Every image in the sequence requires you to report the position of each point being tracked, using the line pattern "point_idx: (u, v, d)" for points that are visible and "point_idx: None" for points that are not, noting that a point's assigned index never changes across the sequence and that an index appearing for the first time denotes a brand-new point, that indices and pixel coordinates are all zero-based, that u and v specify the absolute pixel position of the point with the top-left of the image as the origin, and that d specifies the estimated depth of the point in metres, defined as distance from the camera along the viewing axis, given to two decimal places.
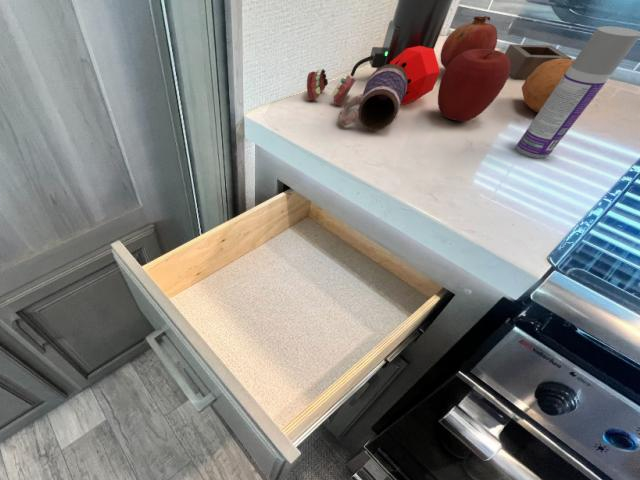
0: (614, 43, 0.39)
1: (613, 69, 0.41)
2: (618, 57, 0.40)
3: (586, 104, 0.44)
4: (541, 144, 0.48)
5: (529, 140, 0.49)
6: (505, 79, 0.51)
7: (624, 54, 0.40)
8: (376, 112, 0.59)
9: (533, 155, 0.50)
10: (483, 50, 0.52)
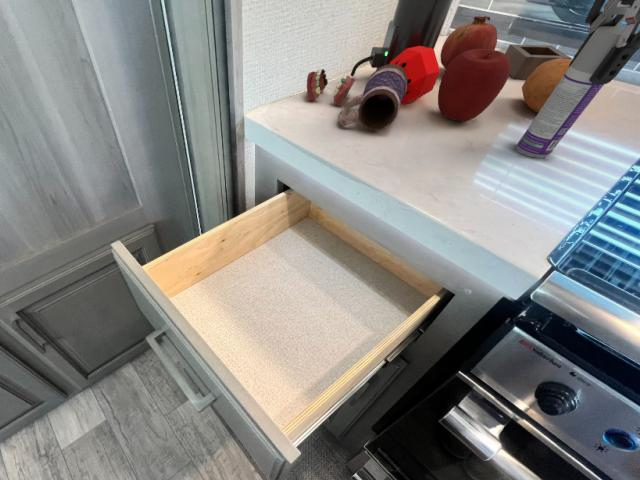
0: (614, 43, 0.39)
1: None
2: None
3: (586, 104, 0.44)
4: (541, 144, 0.48)
5: (529, 140, 0.49)
6: (505, 79, 0.51)
7: None
8: (376, 112, 0.59)
9: (533, 155, 0.50)
10: (483, 50, 0.52)
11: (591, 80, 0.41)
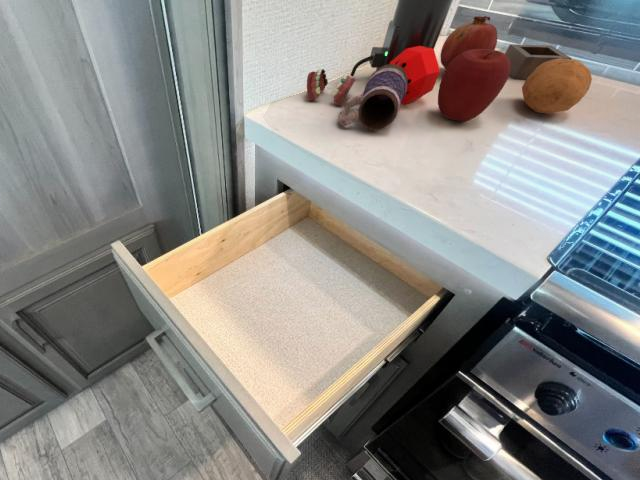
0: None
1: None
2: None
3: None
4: None
5: None
6: (505, 79, 0.51)
7: None
8: (376, 112, 0.59)
9: None
10: (483, 50, 0.52)
11: None
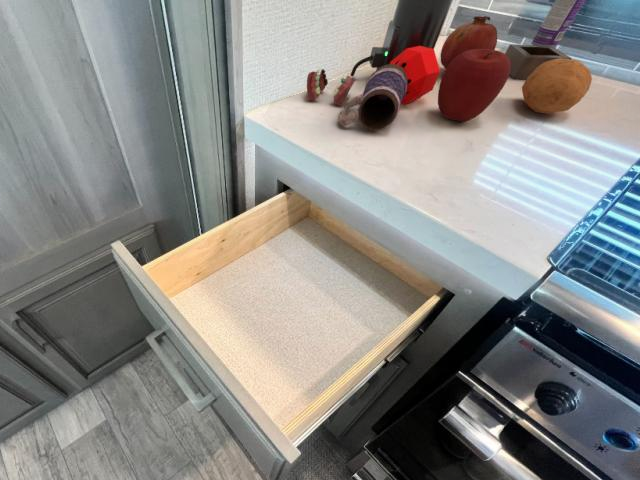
0: None
1: None
2: None
3: None
4: (551, 35, 0.66)
5: (542, 34, 0.67)
6: (505, 79, 0.51)
7: None
8: (376, 112, 0.59)
9: (544, 46, 0.67)
10: (483, 50, 0.52)
11: None
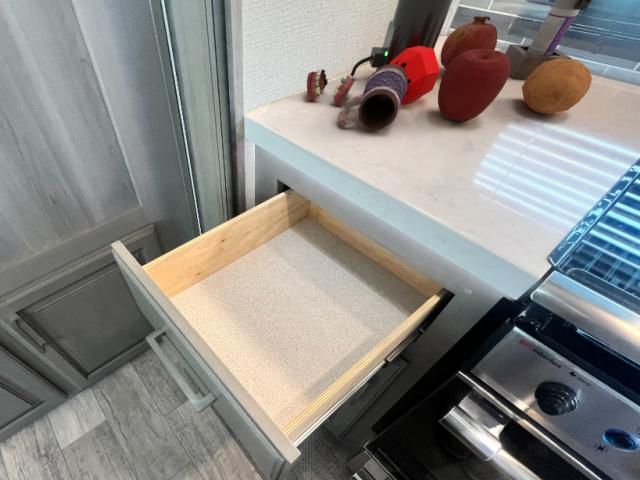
0: None
1: None
2: None
3: (563, 32, 0.65)
4: None
5: None
6: (505, 79, 0.51)
7: None
8: (376, 112, 0.59)
9: None
10: (483, 50, 0.52)
11: (574, 7, 0.61)
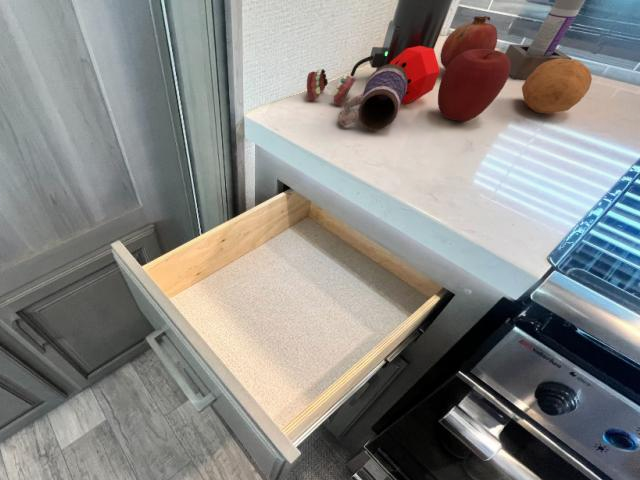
0: None
1: (580, 6, 0.62)
2: None
3: (563, 32, 0.65)
4: None
5: None
6: (505, 79, 0.51)
7: None
8: (376, 112, 0.59)
9: None
10: (483, 50, 0.52)
11: None
